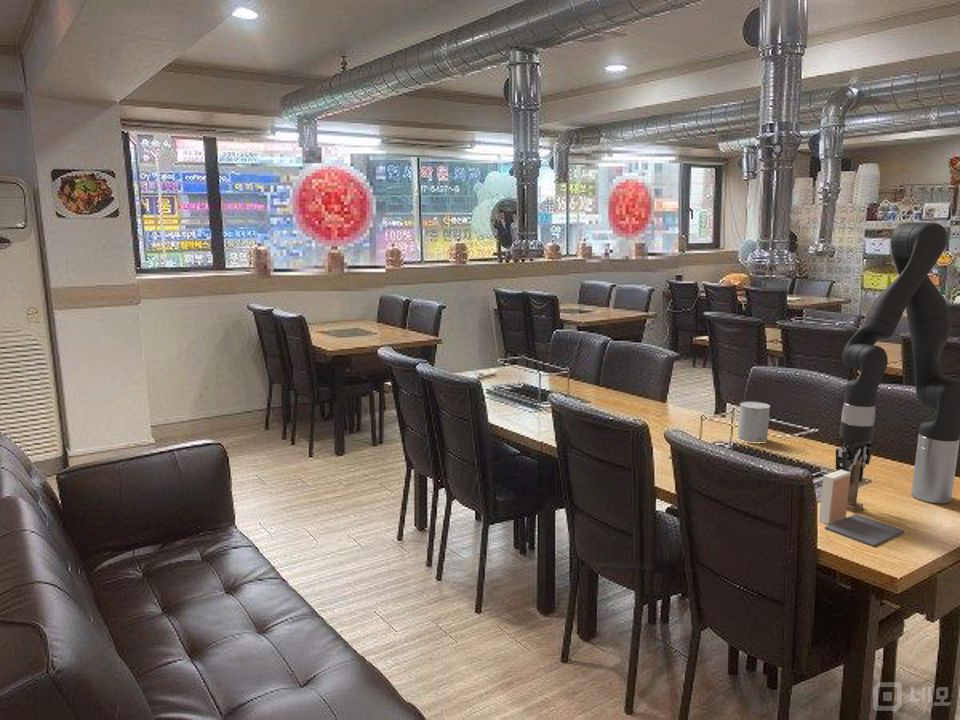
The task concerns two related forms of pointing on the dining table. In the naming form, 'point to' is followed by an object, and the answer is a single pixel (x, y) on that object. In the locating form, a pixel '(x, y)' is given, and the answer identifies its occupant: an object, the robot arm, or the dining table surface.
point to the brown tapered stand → (854, 488)
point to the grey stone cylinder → (753, 421)
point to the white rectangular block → (834, 496)
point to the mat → (864, 530)
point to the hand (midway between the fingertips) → (850, 483)
